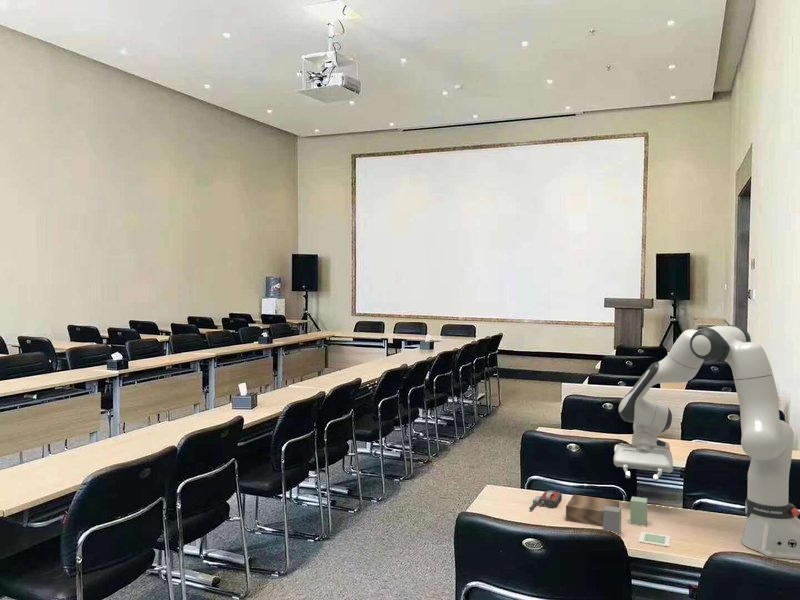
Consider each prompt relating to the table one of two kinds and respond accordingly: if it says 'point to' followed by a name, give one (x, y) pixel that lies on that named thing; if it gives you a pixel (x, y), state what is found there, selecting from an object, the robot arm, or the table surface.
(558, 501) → the walkie-talkie
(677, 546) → the table surface
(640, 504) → the sage block
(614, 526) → the grey block
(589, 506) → the walnut plinth
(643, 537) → the swatch
